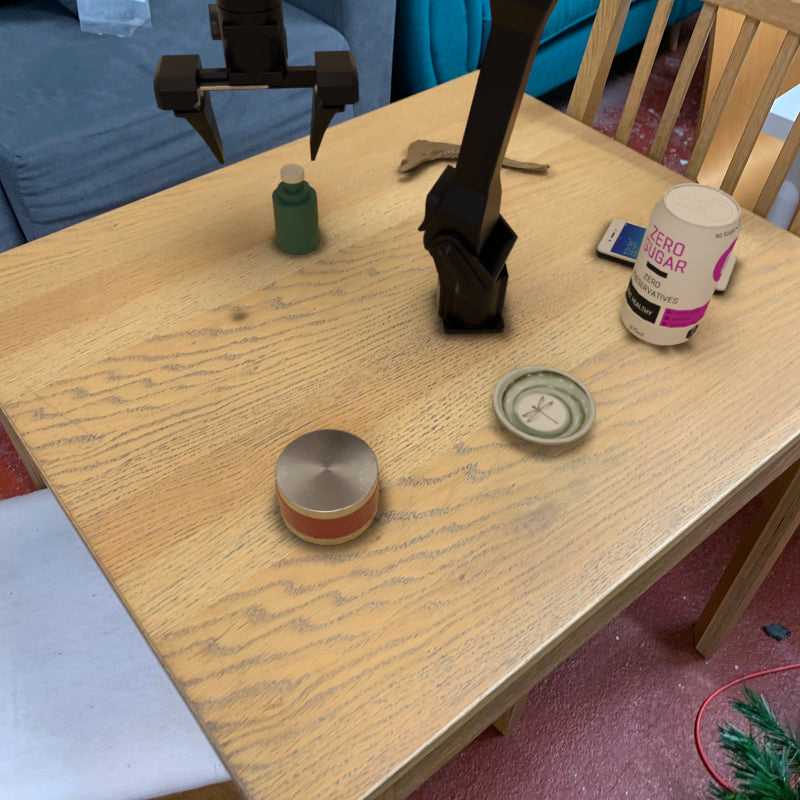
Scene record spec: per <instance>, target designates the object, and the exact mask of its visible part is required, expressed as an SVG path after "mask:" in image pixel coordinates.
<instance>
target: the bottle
mask: <svg viewBox="0 0 800 800" xmlns="http://www.w3.org/2000/svg"><path fill="white" fill-rule="evenodd" d="M279 174H280V179H281V181H280V182H279V183H278V184H277V187H276V188H275V189H274V190H273V191H272V193H271V200H272V201H271V202H272V211H273V219H274V229H275V236H276V245H277V246H278V248H279V249H280V250H281V251H282V252H284V253H287V254H291V255H305V254H308V253H310V252H313V251H314V250H315V249H317V248H318V246H319V245H320V239H321V238H320V225H319V209H318V194H317V191H316V189H315V188H314V187H313V186H312V185H310V183H309V182H308V181H307V180H305V177H306V176H305V169H304V167H303V166H302V165H300V164H298V163H288V164H285V165H283V166H281V168H280V170H279Z"/></svg>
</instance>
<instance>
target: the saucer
mask: <svg viewBox="0 0 800 800" xmlns="http://www.w3.org/2000/svg"><path fill="white" fill-rule="evenodd" d="M491 401H492V408H493V411H494V413H495V416H496V418H497V419H498V420H499V422H500V423H501V424H502V426H504V428H506V430H507V431H509V432H510V433H511V434H513V435H515V436H516V437H518V438H520V439H522V440H524V441H527V442H530V443H532V444H533V443H534V444H537V445H543V446H561V445H562V446H563V445H565V444H569V443H573V442H575V441H578V440H580V439H581V438H582V437H584V436H585V435H587V433H588V432H589V431H590V430H591V428H592V427H593V425H594V423H595V420H596V416H597V405H596V402H595V398H594V396H593V394H592V393H591V391H590V390H589V389H588V387H587V386H586V385H585V384H584V383H583V382H582V381H581V380H579V378H578V377H576V376H574V375H572V374H570V373H569V372H566V371H564V370H563V369H559V368H555V367H552V366H548V365H527V366H522V367H521V366H520V367H518V368H515V369H512V370H510V371H508V372H507V373H506V374H504V375H503V376H502V377H501V378H500V379H499V380H498V381H497V383H496V384H495V386H494V389H493V392H492V400H491Z"/></svg>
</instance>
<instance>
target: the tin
mask: <svg viewBox="0 0 800 800" xmlns="http://www.w3.org/2000/svg"><path fill="white" fill-rule="evenodd" d="M275 463H276V464H275V466H274V467H275V468H274V477H275V478H274V479H275V488H276V492H277V501H278V506H279V510H280V515H281V517H282V520H283V522H284V524H285V526H286V527H287V529H288V530H289V531H290V532H291V533H292V534H294V535H295V536H296V537H298V538H299V539H301V540H303V541H305V542H307V543H310V544H314V545H319V546H334V545H341V544H344V543H347V542H350V541H353V540H354V539H356V538H357V537H360V536H361V535H362V534H363V533H364V532H366V530H367V529H368V528H369V527H370V526H371V525H372V524H373V522H374V520H375V518H376V515H377V513H378V509H379V508H378V507H379V496H380V494H379V493H380V473H379V463H378V458H377V456H376V453H375V451H374V450H373V449H372V447H371V446H370V445H369V444H368V443H367V442H366V441H365V440H363V439H362V438H361V437H359V436H358V435H356V434H354V433H351V432H348V431H346V430H343V429H336V428H335V429H334V428H326V429H325V428H324V429H317V430H313V431H309V432H306V433H304V434H301V435H299V436H298V437H296V438H295V439H293V440H292V441H291V442H289V443H288V444H287V445H286V446H285V447H284V448H283V450H282V451H281V452H280V454H279V456H278V458H277V460H276V462H275Z"/></svg>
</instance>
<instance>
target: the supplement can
mask: <svg viewBox="0 0 800 800" xmlns="http://www.w3.org/2000/svg"><path fill="white" fill-rule="evenodd" d="M740 215H741V207H740V205H739V202H738V201H737V200H736V199H735V198H734V197H733V196H732V195H730V194H729V193H727V192H726V191H724V190H722V189H720V188H717V187H714V186H711V185H710V184H709V185H708V184H702V183H696V182H695V183H692V182H691V183H689V182H688V183H680V184H677V185H673V186H671V187H670V188H668V189H667V190H666V191H665V193H664V195H663V196H662V197H660V198H659V199H658V200H657V201H656V202H655V203H654V206H653V208H652V210H651V213H650V217H649V220H648V223H647V226H646V227H647V229H646V232H645V235H644V238H643V241H642V244H641V247H640V250H639V253H638V256H637V259H636V262H635V266H634V267H633V268H632V271H631V275H630V278H629V281H628V284H627V287H626V291H625V294H624V297H623V299H622V303H621V305H620V309H619V313H620V320H621V321H622V323H623V325H624V326H625V328H626V329H627V330H628V331H629V332H630V333H631V334H632V335H634V336H635V337H636V338H637V339H639V340H642V341H644V342H646V343H648V344H651V345H655V346H674V345H680V344H682V343H685V342H688V341H690V340H691V339H692V338H693V337H694V336H695V335H696V334H697V332H698V330H699V328H700V325H701V323H702V321H703V319H704V316H705V314H706V312H707V309H708V307H709V305H710V302H711V300H712V297H713V295H714V294H715V293H714V291H715V289H716V286H717V284H718V282H719V279H720V277H721V275H722V273H723V270H724V268H725V266H726V263H727V261H728V259H729V257H730V254H731V253H732V252H733V251H734V247H735V245H736V243H737V241H738V238H739V236H740V234H741V230H742V219H741V216H740Z"/></svg>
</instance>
